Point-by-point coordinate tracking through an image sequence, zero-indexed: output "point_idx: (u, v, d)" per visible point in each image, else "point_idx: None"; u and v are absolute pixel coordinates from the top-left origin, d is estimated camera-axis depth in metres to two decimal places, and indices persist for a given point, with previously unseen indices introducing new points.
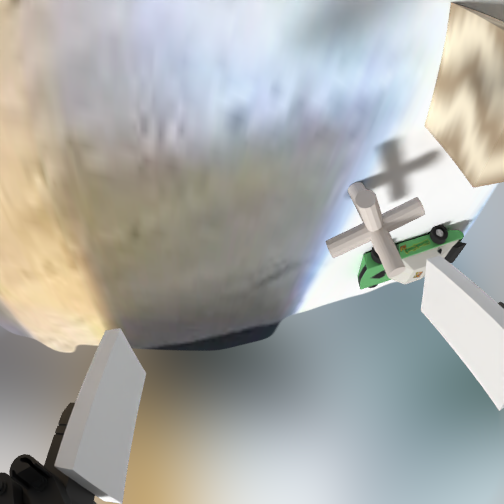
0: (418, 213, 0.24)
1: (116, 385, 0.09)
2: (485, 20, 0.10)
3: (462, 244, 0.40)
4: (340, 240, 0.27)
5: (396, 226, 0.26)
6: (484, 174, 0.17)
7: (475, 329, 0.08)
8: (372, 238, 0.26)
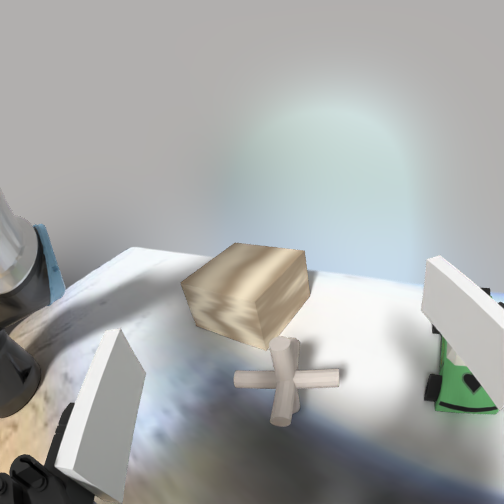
0: None
1: (116, 385, 0.09)
2: (189, 306, 0.44)
3: None
4: None
5: None
6: (247, 296, 0.36)
7: (475, 329, 0.08)
8: (279, 378, 0.26)
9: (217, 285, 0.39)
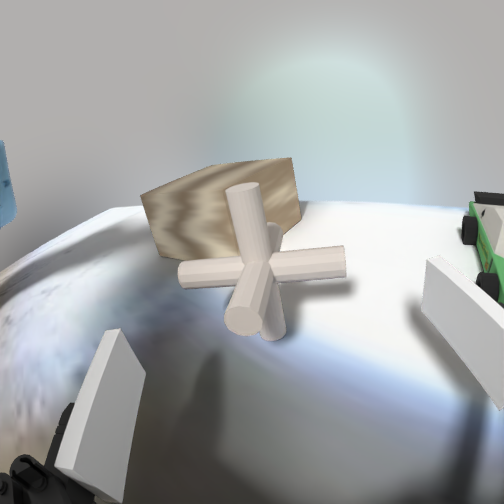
0: None
1: (116, 385, 0.09)
2: (151, 228, 0.35)
3: (475, 195, 0.25)
4: None
5: None
6: (214, 188, 0.27)
7: (475, 329, 0.08)
8: (246, 257, 0.17)
9: (181, 188, 0.31)
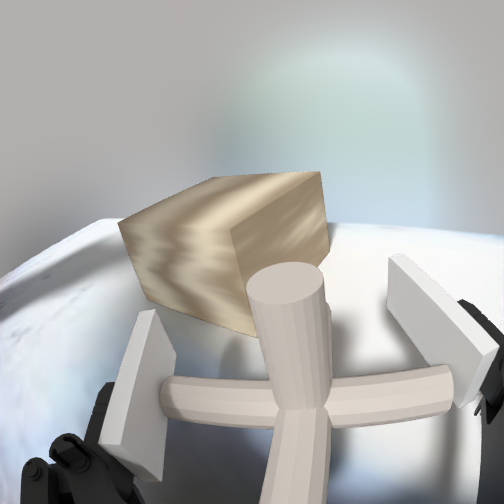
0: None
1: (154, 363, 0.10)
2: (134, 265, 0.26)
3: None
4: (260, 497, 0.06)
5: None
6: (217, 224, 0.18)
7: (432, 325, 0.09)
8: (284, 403, 0.08)
9: (169, 217, 0.22)
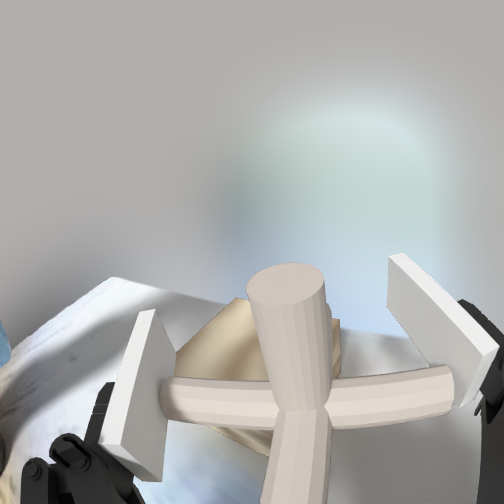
0: None
1: (154, 363, 0.10)
2: None
3: None
4: (261, 498, 0.06)
5: None
6: None
7: (432, 325, 0.09)
8: (284, 404, 0.08)
9: None
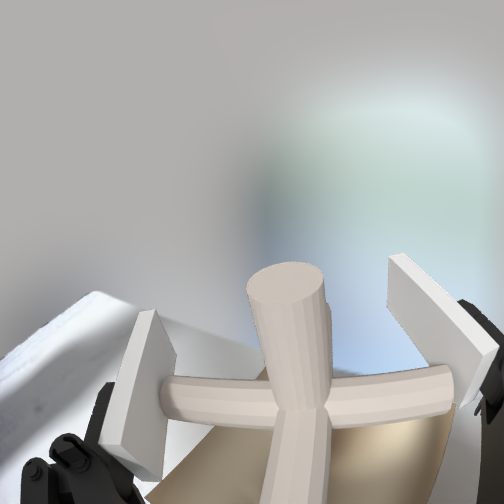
0: None
1: (154, 363, 0.10)
2: None
3: None
4: (260, 497, 0.06)
5: None
6: None
7: (432, 325, 0.09)
8: (284, 403, 0.08)
9: None
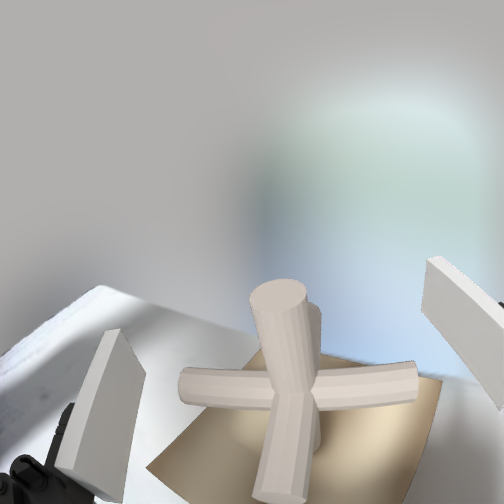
0: None
1: (116, 385, 0.09)
2: None
3: None
4: (259, 463, 0.09)
5: None
6: None
7: (475, 329, 0.08)
8: (278, 388, 0.10)
9: None
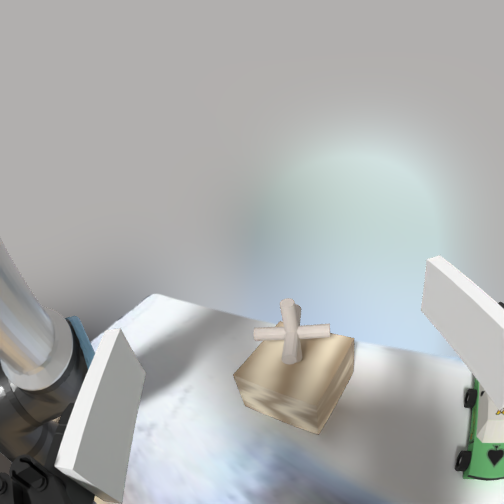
0: None
1: (116, 385, 0.09)
2: (240, 392, 0.42)
3: None
4: None
5: None
6: (308, 398, 0.34)
7: (475, 329, 0.08)
8: (287, 330, 0.38)
9: (274, 381, 0.38)
